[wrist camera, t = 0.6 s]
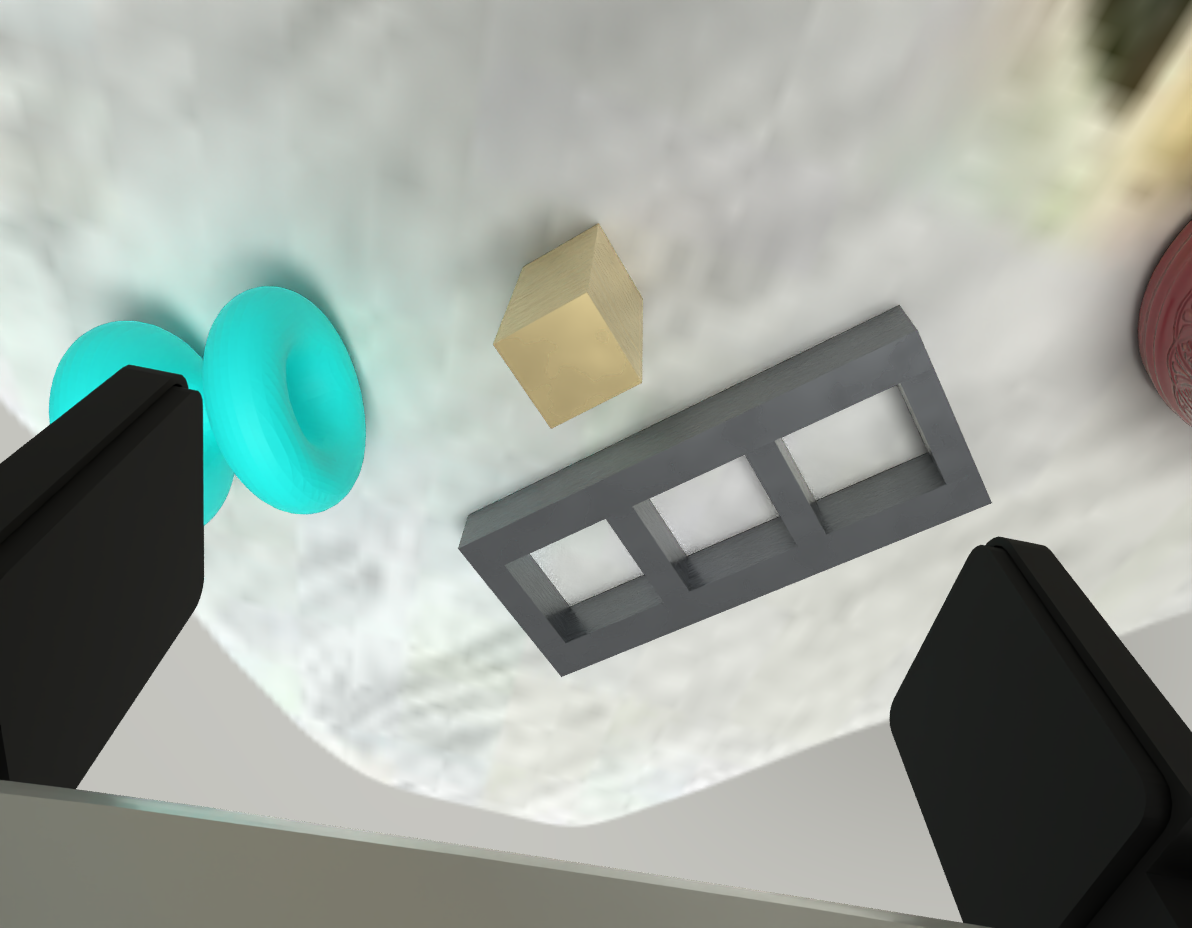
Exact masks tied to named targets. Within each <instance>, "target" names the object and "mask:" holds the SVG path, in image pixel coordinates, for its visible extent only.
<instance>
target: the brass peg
mask: <svg viewBox="0 0 1192 928" xmlns="http://www.w3.org/2000/svg"><path fill="white" fill-rule="evenodd" d="M642 337H643V298H642V297H641V295H640V293H639V292H638V290H637V288H636V286H635V285H634V283H633V281H632V280H631V278H630V276H629V274H628V273H627V271H626V269H625V268H624V266H623V264H622V262H621V261H620V259H619V257H618V255H617V254H616V252H615V250H614V249H613V247H612V245H611V243H610V242H609V240H608V238H607V237H606V235H605V233H604V231H603V230H602V228H601V226H600V225H599V223H598V224H597V225H595V226H593V227H591V228H590V229H588V230H586V231H585V232H583V233H581V234H579V235H578V236H576V237H574V238H572V239H571V240H569V241H567V242H566V243H564V244H562V245H560V246H559V247H557V248H555V249H553V250H552V251H550V252H548V253H547V254H545V255H543V256H541V257H540V258H538V259H536V260H534V261H533V262H531V263H529V264H528V265H526V266H524V267H523V268H522V271H521V273H520V276H519V279H518V281H517V284H516V286H515V289H514V292H513V294H512V297H511V299H510V302H509V304H508V307H507V310H506V312H505V315H504V317H503V320H502V322H501V325H500V328H499V330H498V333H497V335H496V338H495V340H494V343H493V345H494V347H495V348H496V350H497V351H498V352H499V354H500V355H501V357H502V358H503V360H504V361H505V363H506V364H507V366H508V367H509V368H510V370H511V371H512V373H513V374H514V376H515V377H516V379H517V380H518V382H519V383H520V384H521V386H522V387H523V389H524V390H525V392H526V393H527V395H528V396H529V398H530V399H531V400H532V402H533V403H534V405H535V406H536V408H537V409H538V411H539V412H540V414H541V415H542V416H543V418H544V419H545V421H546V422H547V424H548V425H549V427H550V428H551V429H552V428H554V427H556V426H558V425H560V424H562V423H564V422H566V421H567V420H569V419H571V418H573V417H575V416H577V415H579V414H581V413H583V412H585V411H587V410H589V409H591V408H593V407H595V406H597V405H599V404H601V403H603V402H605V401H607V400H609V399H611V398H613V397H615V396H617V395H619V394H621V393H623V392H625V391H627V390H629V389H631V388H633V387H635V386H637V385H639V384H640V383H642Z"/></svg>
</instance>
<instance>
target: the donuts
mask: <svg viewBox="0 0 1192 928" xmlns="http://www.w3.org/2000/svg"><path fill="white" fill-rule="evenodd" d="M127 365H135V366H140V367H145V368H150V369H155V370H160V371H165V372H170V373H176V374H181V375H183V376H184V377H185V379H186V381H187V384H188V388H189V389H192V390H197V391H199V392H200V393H201V396H202V399H203V482H204V525H206V524H207V523H208V522H209V521H210V520H211V519H212V518H213V517H214V516H215V515H216V513H217V512H218V511H219V509H220V508H221V506H222V505H223V503H224V501H225V500H226V497H227V495H228V493H229V490H230V487H231V484H232V481H233V477H234V473H235V475H236V476H237V477H238V478H239V479H240V481H241V482H242V483H243V484H244V485H245V486H246V487H247V488H248V489H249V490H250V491H251V492H252V493H253V494H254V495H256V496H257V497H258V498H259V499H261V500H262V501H264V502H266V503H267V504H269V505H271V506H273V507H274V508H277V509H279V510H282V511H286V512H289V513H293V514H313V513H318V512H322V511H325V510H327V509H329V508H331V507H333V506H335V505H336V504H338V503H339V502H340V501H341V500H342V499H343V498H344V497H345V496H346V495H347V494H348V493H349V492H350V490H351V489H352V487H353V485H354V483H355V482H356V480H357V478H358V476H359V473H360V470H361V467H362V463H363V459H364V452H365V440H366V424H365V414H364V405H363V400H362V394H361V390H360V386H359V382H358V379H357V375H356V372H355V369H354V366H353V363H352V361H351V358H350V356H349V354H348V352H347V349H346V347H345V345H344V343H343V341H342V339H341V338H340V336H339V334H338V333H337V331H336V329H335V328H334V327H333V325H332V324H331V322H330V321H329V320H328V318H327V317H326V316H325V315H324V314H323V312H322V311H321V310H320V309H319V308H318V307H316V306H315V305H314V304H313V303H312V302H311V301H309V300H308V299H306V298H305V297H303V296H302V295H300V294H298V293H296V292H294V291H292V290H288V289H285V288H282V287H276V286H261V287H257V288H252V289H249V290H246V291H244V292H243V293H241V294H239V295H237V296H235V297H234V298H233V299H232V300H231V301H230V302H228V303H227V304H226V305H225V306H224V307H223V309H222V310H221V311H220V313H219V314H218V316H217V318H216V319H215V321H214V323H213V325H212V327H211V329H210V332H209V335H208V338H207V342H206V346H205V350H204V356H203V359H202V358H201V357H200V356H199V355H198V354H197V353H196V352H195V351H194V350H193V349H192V348H191V347H190V346H189V345H188V344H187V343H185V342H184V341H183V340H181V339H180V338H179V337H177V336H176V335H174V334H172V333H170V332H168V331H166V330H164V329H162V328H160V327H158V326H155V325H152V324H148V323H143V322H139V321H115V322H110V323H106V324H103V325H100V326H97V327H95V328H93V329H91V330H90V331H88V332H86V333H85V334H83V335H82V336H80V337H79V338H78V339H77V340H76V341H75V342H74V343H73V344H72V345H71V346H70V348H69V349H68V350H67V351H66V353H65V354H64V356H63V357H62V359H61V361H60V363H59V365H58V367H57V369H56V372H55V375H54V378H53V382H52V387H51V392H50V400H49V419H50V424H51V423H53V422H54V421H55V420H56V419H58V418H59V417H60V416H62V415H63V414H64V413H65V412H67V411H68V410H69V409H70V408H72V407H73V406H74V405H76V404H77V403H78V402H79V401H81V400H82V399H83V398H84V397H86V396H87V395H88V394H89V393H91V392H92V391H93V390H95V389H96V388H97V387H98V386H100V385H101V384H102V383H103V382H105V381H106V380H107V379H109V378H110V377H111V376H112V375H114V374H115V373H116V372H117V371H119V370H120V369H121V368H123V367H124V366H127Z"/></svg>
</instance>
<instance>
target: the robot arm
mask: <svg viewBox="0 0 1192 928" xmlns="http://www.w3.org/2000/svg"><path fill="white" fill-rule="evenodd" d="M203 583H204V482H203V399H202V396H201V393H200V392H199V391H197V390H192V389H189V388H188V384H187V381H186V379H185V377H184V376H183V375H181V374H176V373H170V372H165V371H160V370H155V369H150V368H145V367H140V366H135V365H127V366H124V367H123V368H121V369H120V370H119V371H117V372H116V373H115V374H114V375H112V376H111V377H110V378H109V379H107V380H106V381H105V382H103V383H102V384H101V385H100V386H98V387H97V388H96V389H95V390H93V391H92V392H91V393H89V394H88V395H87V396H86V397H84V398H83V399H82V400H81V401H79V402H78V403H77V404H76V405H74V406H73V407H72V408H70V409H69V410H68V411H67V412H65V413H64V414H63V415H62V416H60V417H59V418H58V419H56V420H55V421H54V422H53V423H51V424H50V425H49V426H48V427H46V428H45V429H44V430H43V431H41V432H40V433H39V434H37V435H36V436H35V437H34V438H32V439H31V440H30V441H29V442H27V443H26V444H25V445H23V447H21V448H20V449H18V450H17V451H16V452H15V453H13V454H12V455H11V456H10V457H8V458H7V459H6V460H4V461H3V462H2V463H1V464H0V928H1192V732H1191V731H1190V729H1189V728H1188V727H1187V725H1186V724H1185V723H1184V722H1183V720H1182V719H1181V718H1180V716H1179V715H1178V714H1177V713H1176V711H1175V710H1174V709H1173V707H1172V706H1171V705H1170V704H1169V702H1168V701H1167V700H1166V699H1165V697H1164V696H1163V695H1162V693H1161V692H1160V691H1159V689H1158V688H1157V687H1156V686H1155V684H1154V683H1153V682H1152V680H1151V679H1150V678H1149V676H1148V675H1147V674H1146V673H1145V671H1144V670H1143V669H1142V667H1141V666H1140V665H1139V664H1138V662H1137V661H1136V660H1135V658H1134V657H1133V656H1132V655H1131V653H1130V652H1129V651H1128V650H1127V648H1126V647H1125V646H1124V644H1123V643H1122V642H1121V640H1120V639H1119V638H1118V637H1117V635H1116V634H1115V633H1114V631H1113V630H1112V629H1111V628H1110V626H1109V625H1108V624H1107V622H1106V621H1105V620H1104V619H1103V617H1102V616H1101V615H1100V613H1099V612H1098V611H1097V609H1096V608H1095V607H1094V606H1093V604H1092V603H1091V602H1090V600H1089V599H1088V598H1087V597H1086V595H1085V594H1084V593H1083V591H1082V590H1081V589H1080V588H1079V586H1078V585H1077V584H1076V582H1075V581H1074V580H1073V579H1072V577H1071V576H1070V575H1069V573H1068V572H1067V571H1066V570H1065V568H1064V567H1063V566H1062V564H1061V563H1060V562H1059V561H1058V559H1057V558H1056V557H1055V555H1054V554H1053V553H1052V552H1051V550H1049V549H1048V548H1047V547H1046V546H1043V545H1039V544H1034V543H1029V542H1024V541H1019V540H1014V539H1009V538H1004V537H996V538H993V539H991V540H990V541H989V542H988V543H987V544H986V545H979V546H977V547H975V548H974V549H973V550H972V552H971V553H970V555H969V556H968V558H967V560H966V562H965V564H964V566H963V568H962V570H961V572H960V573H959V575H958V577H957V579H956V581H955V583H954V585H953V587H952V589H951V591H950V593H949V594H948V596H947V598H946V600H945V602H944V604H943V606H942V608H941V610H940V612H939V614H938V616H937V617H936V619H935V621H934V623H933V625H932V627H931V629H930V631H929V633H928V635H927V637H926V638H925V640H924V642H923V644H922V646H921V648H920V650H919V652H918V654H917V656H916V658H915V660H914V661H913V663H912V665H911V667H910V669H909V671H908V673H907V675H906V677H905V679H904V681H903V682H902V684H901V686H900V688H899V690H898V692H897V694H896V696H895V698H894V700H893V702H892V705H891V710H890V727H891V731H892V734H893V737H894V740H895V742H896V745H897V748H898V750H899V753H900V756H901V758H902V761H903V764H904V766H905V769H906V772H907V774H908V777H909V779H910V782H911V785H912V788H913V790H914V793H915V796H916V798H917V801H918V804H919V806H920V809H921V812H922V814H923V816H924V820H925V822H926V825H927V828H928V830H929V833H930V835H931V838H932V840H933V843H934V846H935V849H936V851H937V854H938V857H939V859H940V862H941V865H942V867H943V870H944V872H945V875H946V878H947V881H948V883H949V886H950V888H951V891H952V894H953V897H954V899H955V902H956V904H957V907H958V910H959V913H960V915H961V918H962V921H963V923H960V922H954V921H947V920H941V919H935V918H929V917H923V916H916V915H909V914H904V913H898V912H891V911H885V910H879V909H873V908H865V907H860V906H853V905H848V904H841V903H835V902H828V901H823V900H816V899H810V898H803V897H797V896H791V895H784V894H778V893H771V892H765V891H759V890H752V889H746V888H739V887H733V886H726V885H720V884H713V883H707V882H700V881H694V880H688V879H681V878H675V877H668V876H662V875H655V874H649V873H642V872H635V871H629V870H623V869H616V868H610V867H603V866H596V865H590V864H584V863H577V862H570V861H563V860H557V859H551V858H544V857H538V856H531V855H525V854H518V853H511V852H505V851H499V850H492V849H485V848H478V847H472V846H465V845H458V844H452V843H445V842H438V841H431V840H425V839H418V838H411V837H405V836H398V835H391V834H383V833H377V832H370V831H364V830H357V829H351V828H343V827H336V826H330V825H324V824H316V823H310V822H303V821H297V820H289V819H283V818H276V817H270V816H263V815H256V814H249V813H242V812H236V811H229V810H222V809H216V808H209V807H202V806H195V805H187V804H180V803H173V802H165V801H158V800H151V799H143V798H136V797H129V796H121V795H114V794H106V793H99V792H92V791H84V790H77V789H76V788H77V786H78V785H79V783H80V782H81V780H82V779H83V777H84V776H85V774H86V773H87V771H88V770H89V768H90V767H91V765H92V764H93V762H94V761H95V759H96V758H97V756H98V755H99V753H100V752H101V750H102V749H103V747H104V746H105V744H106V743H107V741H108V740H109V738H110V737H111V735H112V734H113V732H114V730H115V729H116V728H117V726H118V725H119V723H120V721H121V720H122V719H123V717H124V716H125V714H126V713H127V711H128V709H129V708H130V707H131V705H132V704H133V702H134V701H135V699H136V698H137V696H138V694H139V693H140V692H141V690H142V689H143V687H144V685H145V684H146V682H147V681H148V679H149V678H150V676H151V675H152V673H153V672H154V670H155V669H156V667H157V666H158V664H159V663H160V661H161V660H162V658H163V657H164V655H165V654H166V652H167V651H168V649H169V648H170V646H171V645H172V643H173V642H174V640H175V639H176V637H177V636H178V634H179V633H180V631H181V630H182V628H183V627H184V625H185V624H186V622H187V621H188V619H189V618H190V616H191V615H192V613H193V612H194V610H195V608H196V606H197V604H198V602H199V599H200V596H201V593H202V589H203Z"/></svg>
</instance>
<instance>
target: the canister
mask: <svg viewBox="0 0 1192 928" xmlns="http://www.w3.org/2000/svg"><path fill="white" fill-rule="evenodd" d="M1138 344H1139V351H1140V355H1141V359H1142V362H1143V365H1144V367H1145V369H1146V372H1147V374H1148V375H1149V377H1150V379H1151V380H1152V382H1153V384H1154V387H1155V389H1156V390H1157V392H1158V394H1159V395H1160V397H1161V398H1162V399H1163V401H1164V402H1165V403H1166V404H1167V406H1168V407H1169V408H1170V409H1171V410H1172V411H1173V412H1175V413H1176V414H1177V415H1178V416H1179V417H1180V418H1181V419H1182V420H1183V421H1185V422H1186V423H1187V424H1188V425H1189V426H1191V427H1192V220H1191V221H1190V222H1189V223H1188V224H1187V225H1186V226H1185V227H1184V229H1183V230H1182V231H1181V232H1180V233H1179V234H1178V236H1177V237H1176V238H1175V239H1174V241H1173V242H1172V243H1171V245H1170V246H1169V247H1168V249H1167V250H1166V252H1165V253H1164V255H1163V256H1162V258H1161V260H1160V261H1159V263H1158V265H1157V266H1156V268H1155V270H1154V272H1153V274H1152V276H1151V278H1150V281H1149V283H1148V286H1147V288H1146V291H1145V294H1144V297H1143V300H1142V304H1141V308H1140V314H1139V320H1138Z"/></svg>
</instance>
